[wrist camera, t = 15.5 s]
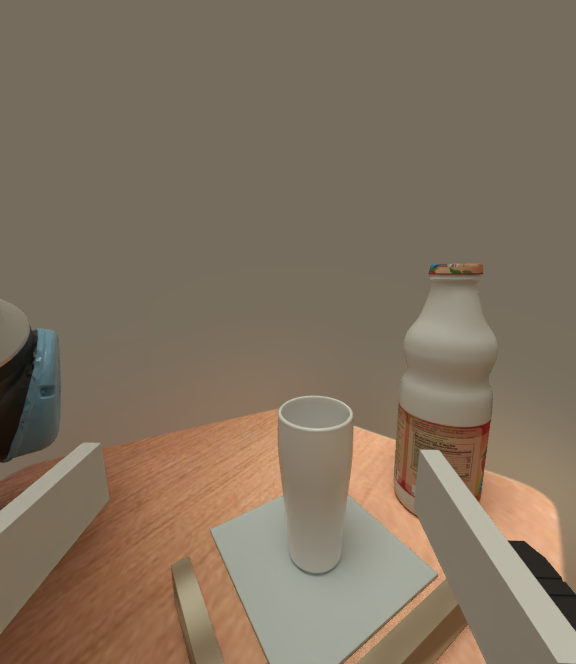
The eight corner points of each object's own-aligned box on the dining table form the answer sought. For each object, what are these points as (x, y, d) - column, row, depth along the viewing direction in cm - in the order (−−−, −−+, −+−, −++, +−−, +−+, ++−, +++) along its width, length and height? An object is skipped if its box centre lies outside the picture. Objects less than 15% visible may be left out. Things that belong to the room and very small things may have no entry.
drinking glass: (348, 526, 32) (352, 397, 29) (350, 591, 26) (355, 433, 23) (287, 518, 34) (284, 393, 31) (273, 579, 27) (269, 426, 24)
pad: (210, 531, 32) (210, 529, 32) (326, 477, 41) (326, 475, 41) (289, 711, 19) (289, 708, 19) (437, 576, 27) (437, 573, 27)
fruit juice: (378, 478, 40) (390, 265, 35) (439, 467, 42) (459, 264, 37) (425, 537, 31) (450, 263, 26) (499, 520, 33) (537, 262, 28)
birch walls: (174, 598, 26) (170, 565, 25) (368, 491, 38) (369, 467, 37) (243, 883, 14) (239, 834, 13) (494, 593, 26) (499, 559, 25)
